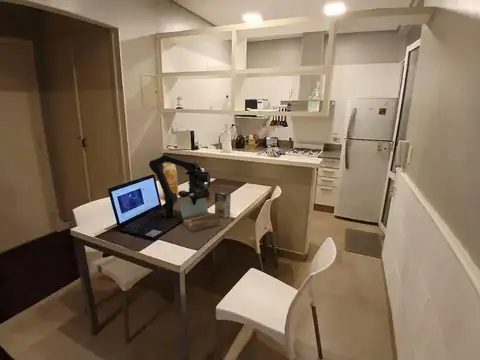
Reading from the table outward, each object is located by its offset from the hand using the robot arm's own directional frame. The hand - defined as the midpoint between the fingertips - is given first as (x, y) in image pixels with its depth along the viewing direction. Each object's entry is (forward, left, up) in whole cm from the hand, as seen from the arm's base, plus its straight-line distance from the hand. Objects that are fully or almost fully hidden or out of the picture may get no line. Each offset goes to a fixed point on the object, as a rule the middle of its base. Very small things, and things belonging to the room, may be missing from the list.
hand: (194, 204), depth 174 cm
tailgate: (+1, 0, -7) cm, 7 cm away
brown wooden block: (+9, 0, -10) cm, 14 cm away
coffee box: (+4, +19, -10) cm, 22 cm away
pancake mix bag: (-49, +2, -10) cm, 50 cm away
